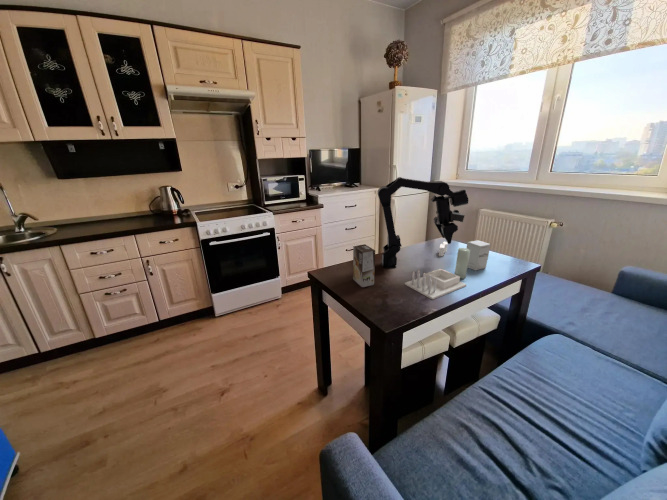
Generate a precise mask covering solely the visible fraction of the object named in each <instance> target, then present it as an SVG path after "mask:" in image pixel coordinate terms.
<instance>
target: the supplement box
mask: <svg viewBox="0 0 667 500" xmlns="http://www.w3.org/2000/svg"><path fill="white" fill-rule="evenodd" d="M465 248H466V249H469V250H470V255H469V261H468V267H467V269H468V268H469V269H471V270H473V271H478V270H483V269H486V268H487V263H488V260H489V253H490V248H491V243H488V242H486V241H482V240H478V239H477V240H471V241H468V242H467V243H466V247H465Z"/></svg>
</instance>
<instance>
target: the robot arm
mask: <svg viewBox="0 0 667 500" xmlns="http://www.w3.org/2000/svg"><path fill="white" fill-rule="evenodd" d="M400 188H406V189H407V188H408V189H413V190H422V191H427V192H429V193H431V194H435V195H433V196H432V198H431V199H430V201H431V202H433V203H435V207H436V211H435V213H436V215H437V216H435V217H434V218H433V223H434V225H435V228H436V229H437V230H438V232H439V234H440V235H441V237H442V238H443V239H444V238H445V240H446V241H445V242H447V243H448V244H447V245H451V244H452V240H453V235H454V233H456V232H458V230H459V226H458V225H457V224H456V223H455V222H460V223H463V222H464V220H465V214H464V213H461V212H459V211H460V210H458V209H454V210H451V206H452V207H454V208H456V207H461V206H466V205H468V204H469V197H468V194H467V192H466V191H467V190H466V189H461V190H456V191H452V190H451V189H450V185H449V184H448V183H447V182H445V181H442V180H431V181H426V180H417V179H412V178H411V179H410V178H404V177H401V176H399V177H397V178H396V179H394V180H392V181H391V182H389V183H388V184H387V185H384V186H380V187H379V188H378V190H377V195H378V199H379V201H380V205H381V207H382V211H383V217H384V220H385V226H386V232H387V242H386V245H384V246H383V247H382V250H383V252H382V255H381V258H382V259H381V262H380V264H381V266H382V267H383V269H396V268H397V264H398V263H397V262H398V257H397V254H398V253H399V252H400V251H401V247H402V243H401V237H400V234H398V235H397V234H396V230H395V229H396V228H395V223H394V217H393V213H392V212H393V211H392V208H391V207H392V204H391V203H392V195H393V194H395V193H396V192H397V191H398V190H400ZM436 195H437V196H436Z"/></svg>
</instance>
